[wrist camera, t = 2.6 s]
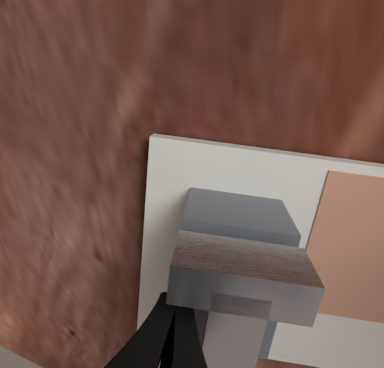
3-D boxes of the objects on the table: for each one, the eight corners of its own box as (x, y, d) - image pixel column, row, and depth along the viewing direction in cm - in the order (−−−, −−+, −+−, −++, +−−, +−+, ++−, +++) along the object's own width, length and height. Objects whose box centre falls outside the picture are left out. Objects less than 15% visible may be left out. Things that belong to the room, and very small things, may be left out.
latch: (281, 205, 15) (335, 307, 8) (243, 365, 19) (256, 526, 12) (190, 192, 16) (165, 280, 9) (170, 353, 20) (142, 504, 12)
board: (486, 177, 15) (506, 184, 14) (389, 377, 20) (398, 393, 19) (153, 133, 16) (149, 136, 15) (139, 335, 21) (135, 348, 20)
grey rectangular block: (281, 199, 16) (301, 236, 12) (257, 302, 18) (267, 359, 14) (190, 187, 16) (182, 218, 12) (178, 289, 18) (167, 342, 14)
